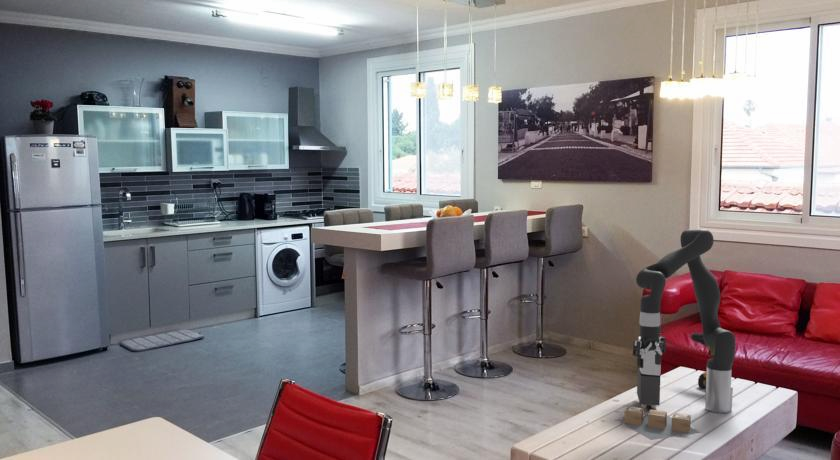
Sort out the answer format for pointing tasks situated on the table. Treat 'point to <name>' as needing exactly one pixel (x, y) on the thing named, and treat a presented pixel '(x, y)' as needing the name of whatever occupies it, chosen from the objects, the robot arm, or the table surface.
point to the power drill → (699, 338)
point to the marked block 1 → (634, 416)
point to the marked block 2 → (681, 422)
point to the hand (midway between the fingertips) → (649, 366)
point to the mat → (654, 432)
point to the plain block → (657, 419)
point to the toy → (649, 381)
